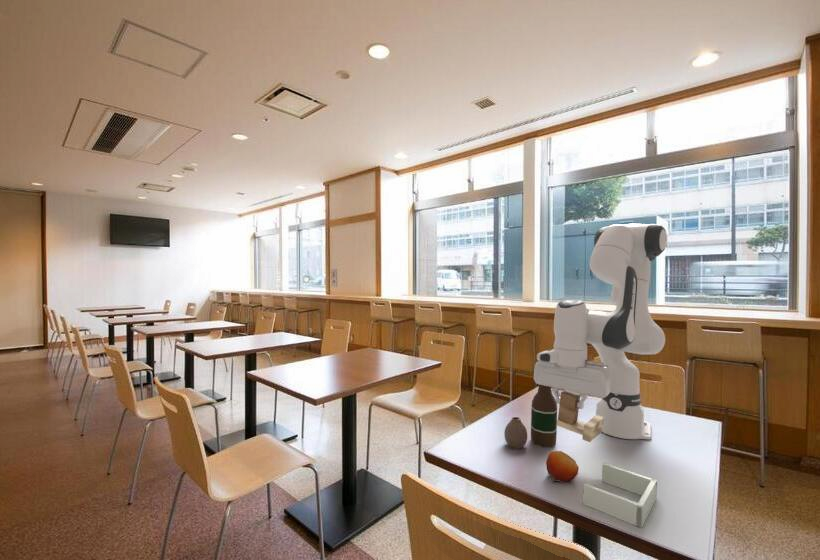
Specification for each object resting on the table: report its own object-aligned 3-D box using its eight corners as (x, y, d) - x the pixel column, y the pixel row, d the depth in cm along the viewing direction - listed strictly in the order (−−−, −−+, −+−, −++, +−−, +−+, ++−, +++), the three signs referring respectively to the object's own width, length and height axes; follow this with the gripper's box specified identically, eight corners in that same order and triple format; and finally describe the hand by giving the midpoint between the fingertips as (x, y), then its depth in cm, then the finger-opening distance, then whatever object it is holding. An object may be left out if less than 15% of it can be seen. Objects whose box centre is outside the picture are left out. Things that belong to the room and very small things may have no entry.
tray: (603, 479, 101) (603, 462, 101) (656, 498, 92) (656, 480, 92) (583, 503, 90) (583, 484, 90) (641, 527, 82) (642, 507, 81)
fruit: (533, 466, 104) (549, 441, 104) (557, 480, 105) (572, 455, 105) (547, 482, 96) (563, 455, 96) (572, 497, 97) (588, 470, 97)
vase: (528, 452, 115) (528, 423, 115) (504, 449, 117) (505, 421, 117) (525, 442, 122) (526, 415, 122) (503, 440, 124) (504, 413, 123)
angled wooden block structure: (566, 417, 114) (570, 387, 113) (602, 430, 107) (606, 398, 107) (552, 427, 107) (556, 395, 106) (590, 442, 100) (594, 407, 99)
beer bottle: (555, 439, 125) (557, 366, 125) (556, 449, 118) (558, 372, 117) (530, 435, 128) (532, 364, 127) (530, 445, 120) (532, 369, 120)
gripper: (613, 361, 103) (612, 411, 104) (540, 350, 117) (540, 394, 118) (606, 366, 99) (605, 418, 99) (531, 353, 113) (531, 400, 113)
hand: (569, 405), depth 109 cm, fingers closed on angled wooden block structure, 4 cm apart
